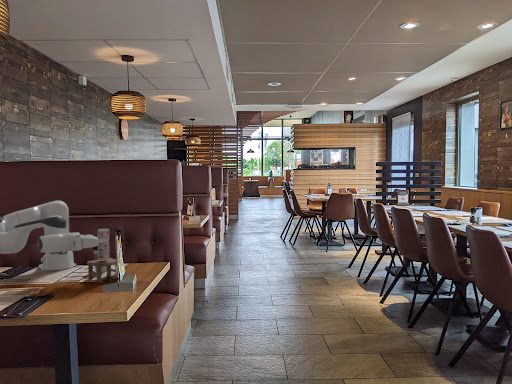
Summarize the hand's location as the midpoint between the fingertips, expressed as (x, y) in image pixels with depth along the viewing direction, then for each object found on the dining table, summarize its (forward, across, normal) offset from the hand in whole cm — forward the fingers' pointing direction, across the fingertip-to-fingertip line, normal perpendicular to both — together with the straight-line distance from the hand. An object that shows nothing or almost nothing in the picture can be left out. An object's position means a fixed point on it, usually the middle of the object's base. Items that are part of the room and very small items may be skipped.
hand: (105, 239), depth 201 cm
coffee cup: (+1, -19, -20) cm, 28 cm away
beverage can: (-1, 0, -10) cm, 10 cm away
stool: (-1, 0, -20) cm, 20 cm away
